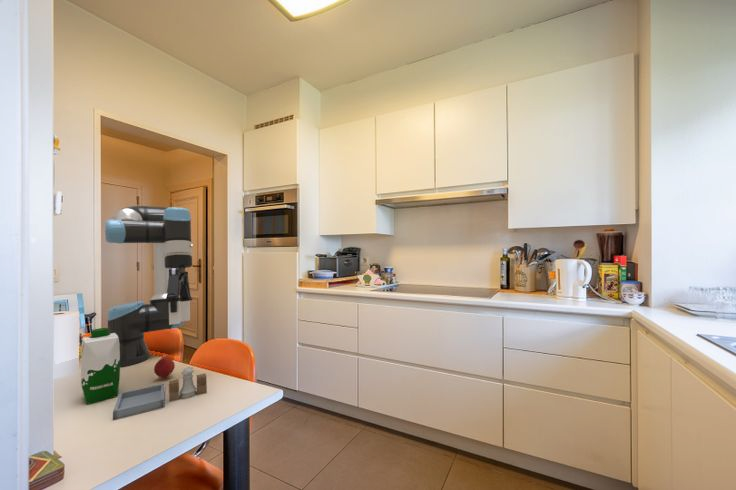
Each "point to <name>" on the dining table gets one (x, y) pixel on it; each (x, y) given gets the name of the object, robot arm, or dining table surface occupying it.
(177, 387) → the walnut posts
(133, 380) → the dining table surface
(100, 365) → the milk carton
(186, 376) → the rook chess piece
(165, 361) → the red round fruit
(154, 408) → the tray
